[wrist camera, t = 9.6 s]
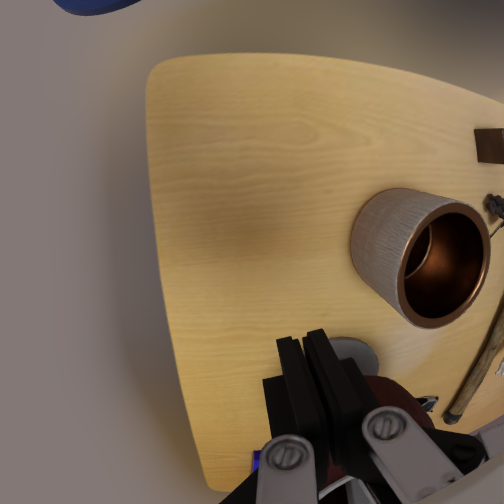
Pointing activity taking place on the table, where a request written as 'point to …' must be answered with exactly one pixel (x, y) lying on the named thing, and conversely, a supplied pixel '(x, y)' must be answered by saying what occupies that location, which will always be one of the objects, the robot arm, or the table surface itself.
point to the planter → (422, 254)
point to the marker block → (490, 145)
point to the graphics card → (428, 403)
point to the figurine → (496, 207)
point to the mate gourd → (388, 394)
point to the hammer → (476, 374)
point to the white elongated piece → (501, 366)
